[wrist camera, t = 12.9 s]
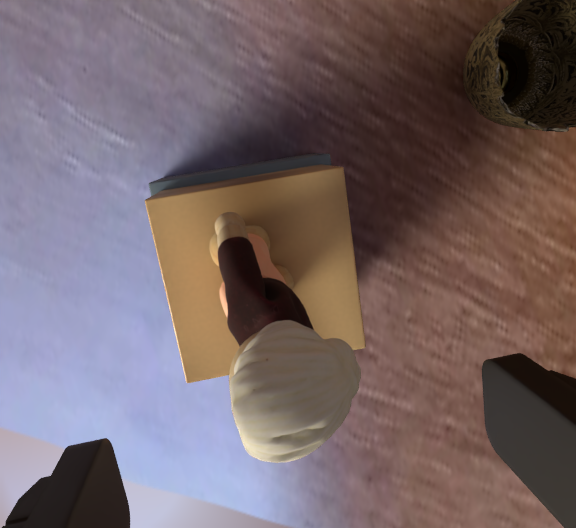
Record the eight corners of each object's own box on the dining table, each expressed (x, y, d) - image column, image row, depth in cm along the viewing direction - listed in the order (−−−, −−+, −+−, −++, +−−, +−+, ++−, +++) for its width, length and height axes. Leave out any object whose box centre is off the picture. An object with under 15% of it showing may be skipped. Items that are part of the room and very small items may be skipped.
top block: (193, 344, 28) (186, 383, 23) (159, 190, 26) (144, 199, 21) (342, 315, 29) (366, 348, 24) (322, 164, 27) (343, 166, 22)
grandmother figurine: (170, 239, 21) (97, 356, 9) (237, 186, 21) (253, 233, 9) (275, 360, 23) (329, 588, 11) (337, 312, 23) (461, 490, 11)
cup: (409, 66, 31) (470, 38, 23) (500, -9, 30) (593, -64, 23) (470, 159, 33) (546, 161, 25) (556, 89, 32) (660, 69, 25)
